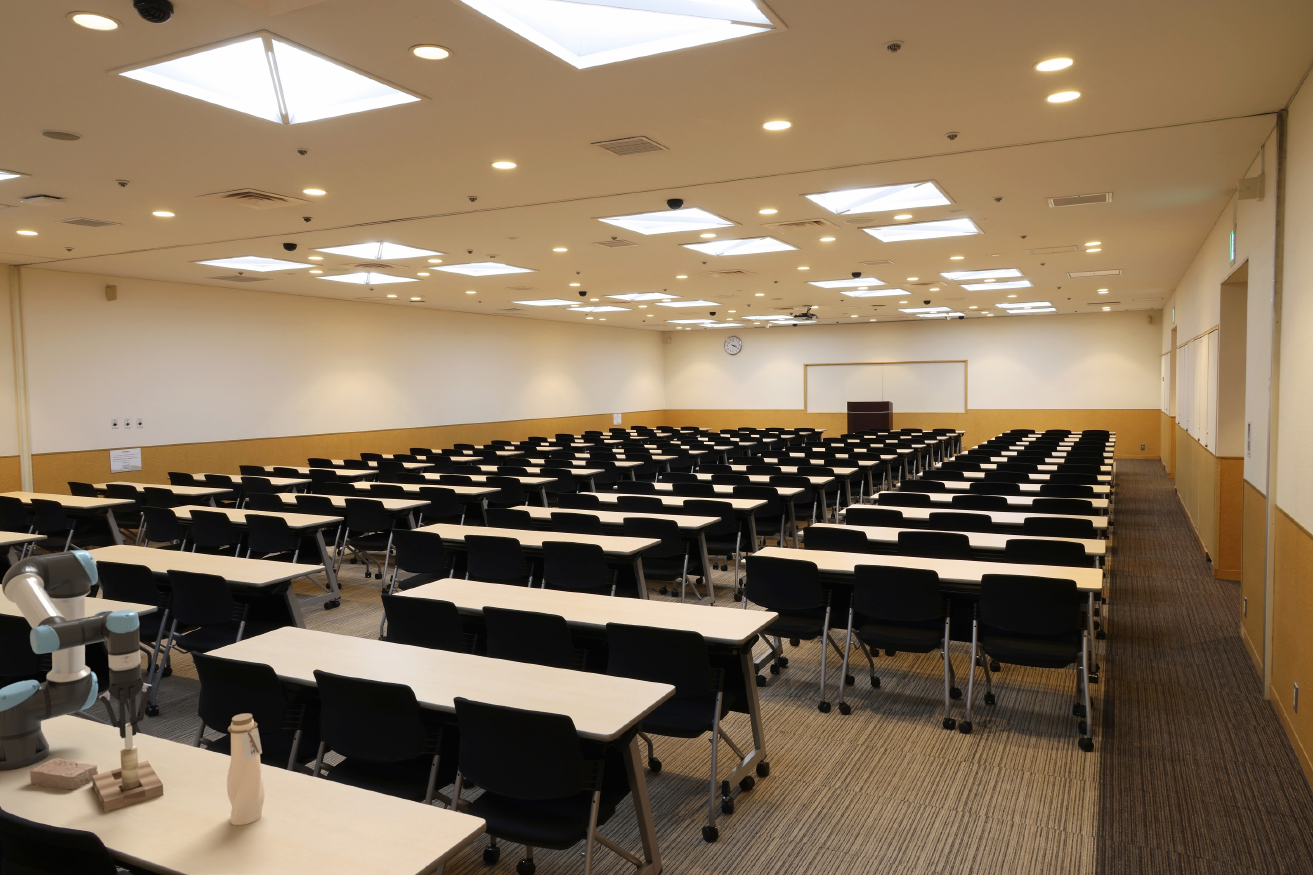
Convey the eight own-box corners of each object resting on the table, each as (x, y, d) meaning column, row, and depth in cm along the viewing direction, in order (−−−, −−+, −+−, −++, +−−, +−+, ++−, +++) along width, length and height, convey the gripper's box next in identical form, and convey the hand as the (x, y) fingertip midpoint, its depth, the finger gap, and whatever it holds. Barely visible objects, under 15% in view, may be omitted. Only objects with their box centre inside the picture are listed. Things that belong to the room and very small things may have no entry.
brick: (100, 777, 245) (99, 762, 245) (74, 791, 237) (73, 775, 237) (55, 772, 249) (54, 757, 249) (28, 785, 241) (27, 769, 240)
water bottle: (276, 812, 224) (272, 713, 222) (249, 829, 216) (246, 726, 214) (246, 806, 228) (243, 708, 226) (220, 822, 219) (215, 721, 217)
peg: (121, 796, 233) (118, 748, 232) (138, 791, 236) (135, 744, 235) (123, 801, 230) (121, 753, 229) (141, 796, 233) (139, 748, 232)
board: (92, 785, 240) (92, 775, 239) (148, 770, 249) (147, 760, 249) (105, 811, 225) (104, 801, 225) (163, 794, 234) (162, 784, 234)
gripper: (99, 675, 224) (103, 758, 225) (154, 664, 232) (158, 744, 234) (94, 668, 229) (99, 750, 231) (148, 657, 238) (152, 736, 239)
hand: (128, 747), depth 232 cm, fingers closed
